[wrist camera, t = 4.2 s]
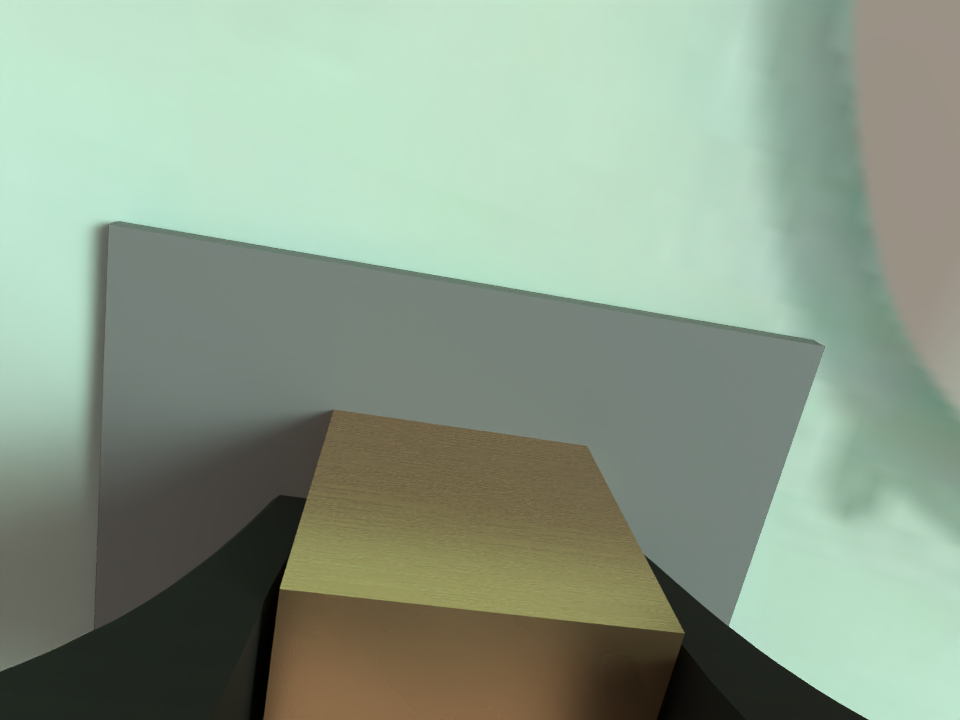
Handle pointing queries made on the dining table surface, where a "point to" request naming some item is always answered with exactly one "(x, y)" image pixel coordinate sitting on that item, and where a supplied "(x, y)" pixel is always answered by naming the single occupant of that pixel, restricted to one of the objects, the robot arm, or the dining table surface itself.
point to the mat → (416, 400)
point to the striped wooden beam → (465, 584)
